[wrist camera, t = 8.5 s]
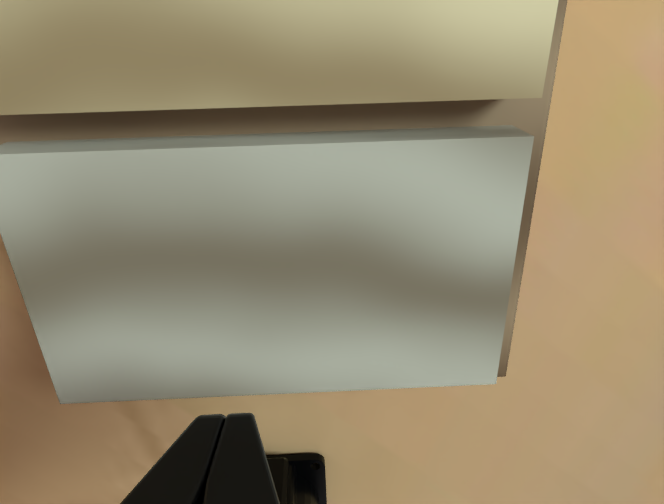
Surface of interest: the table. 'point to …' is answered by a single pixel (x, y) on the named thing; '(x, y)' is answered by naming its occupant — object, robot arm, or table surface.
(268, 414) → the table surface
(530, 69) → the pale yellow square slab
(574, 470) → the table surface
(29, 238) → the floor base
